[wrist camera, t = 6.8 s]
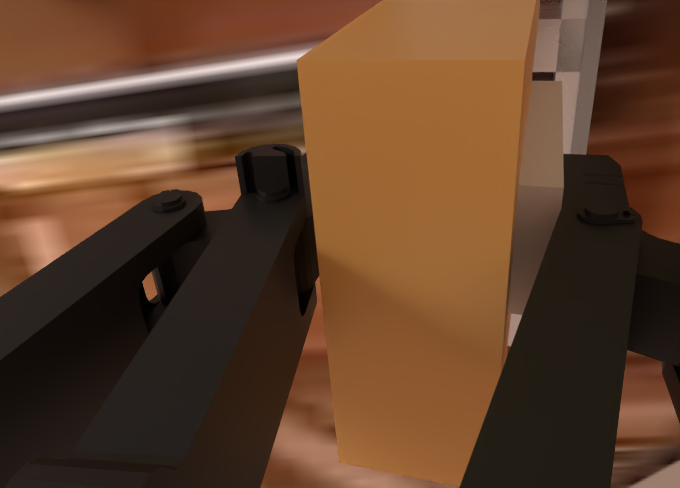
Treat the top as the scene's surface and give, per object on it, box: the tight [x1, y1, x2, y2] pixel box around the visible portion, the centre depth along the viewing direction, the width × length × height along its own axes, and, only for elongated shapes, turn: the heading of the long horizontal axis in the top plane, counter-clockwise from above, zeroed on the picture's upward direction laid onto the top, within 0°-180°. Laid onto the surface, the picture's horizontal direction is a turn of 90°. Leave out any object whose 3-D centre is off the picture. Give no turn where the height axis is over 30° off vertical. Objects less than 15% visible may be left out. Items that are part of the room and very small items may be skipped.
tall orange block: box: [297, 0, 540, 487], centre depth 15 cm, size 8×3×12 cm, turn 4°
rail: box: [508, 0, 607, 346], centre depth 26 cm, size 30×8×4 cm, turn 4°
